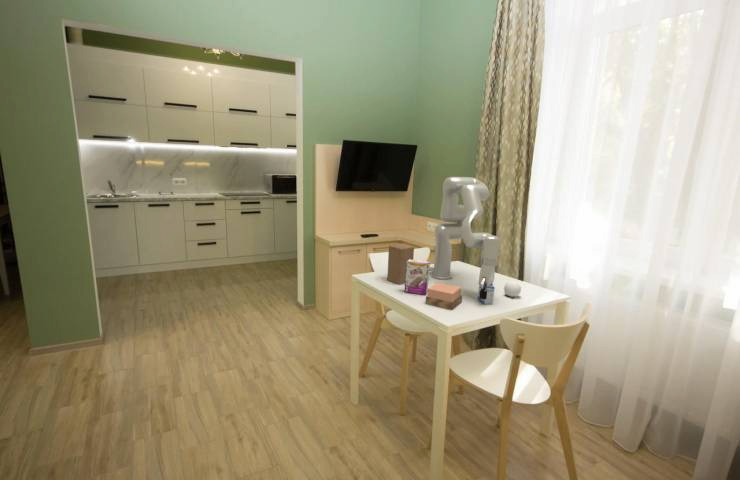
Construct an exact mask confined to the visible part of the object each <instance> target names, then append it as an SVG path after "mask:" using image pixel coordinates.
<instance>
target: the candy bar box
mask: <svg viewBox="0 0 740 480" xmlns="http://www.w3.org/2000/svg"><path fill="white" fill-rule="evenodd" d="M430 264H431V262H430V261H424V260H418V259H417V260H415V259H413V260H410V259H409V260H408V261H407V263H406V277H405V283H404V293H408V294H409V293H410V294H416V295H421V296H427V294H428V288H429V279H430V276H429V275H430V271H429V268H430V267H431V265H430Z"/></svg>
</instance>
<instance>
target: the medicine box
mask: <svg viewBox="0 0 740 480" xmlns="http://www.w3.org/2000/svg"><path fill="white" fill-rule="evenodd" d="M485 285H487V284H485ZM480 286H481V285H479V284H478V293H477V299H478V300H479V301H480V302H481V303H482V304H483V305H493V304H494V295H495V286H492V285H490V286H488V287H487V290H486V291H487V297H486V299H481V298H479V296H480ZM484 287H485V286H484Z"/></svg>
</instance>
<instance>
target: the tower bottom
mask: <svg viewBox="0 0 740 480" xmlns="http://www.w3.org/2000/svg"><path fill="white" fill-rule="evenodd" d="M462 302H463V294H461V295H460V296H459V297H458V298H457V299H456V300H454V301H453V302H447V301H443V300H439V299H434V298H430V297H427V296H426V297H425V305H429V306H433V307H437V308H441V309H445V310H448V311H449V310H450V311H453V310H454V309H455V308H456V307H458V306H459V305H460V304H461V303H462Z"/></svg>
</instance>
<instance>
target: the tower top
mask: <svg viewBox="0 0 740 480" xmlns="http://www.w3.org/2000/svg"><path fill="white" fill-rule="evenodd" d="M460 295H462V287H461V286H458V285H457V286H456V285H452V284H448V283H441V282H436V283H434V284H433V285H431V286H430V287H428V292H427V294H426V297H430V298H434V299H439V300H443V301H447V302H453V301H454V300H456V299H457V298H458V297H459V296H460Z"/></svg>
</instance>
